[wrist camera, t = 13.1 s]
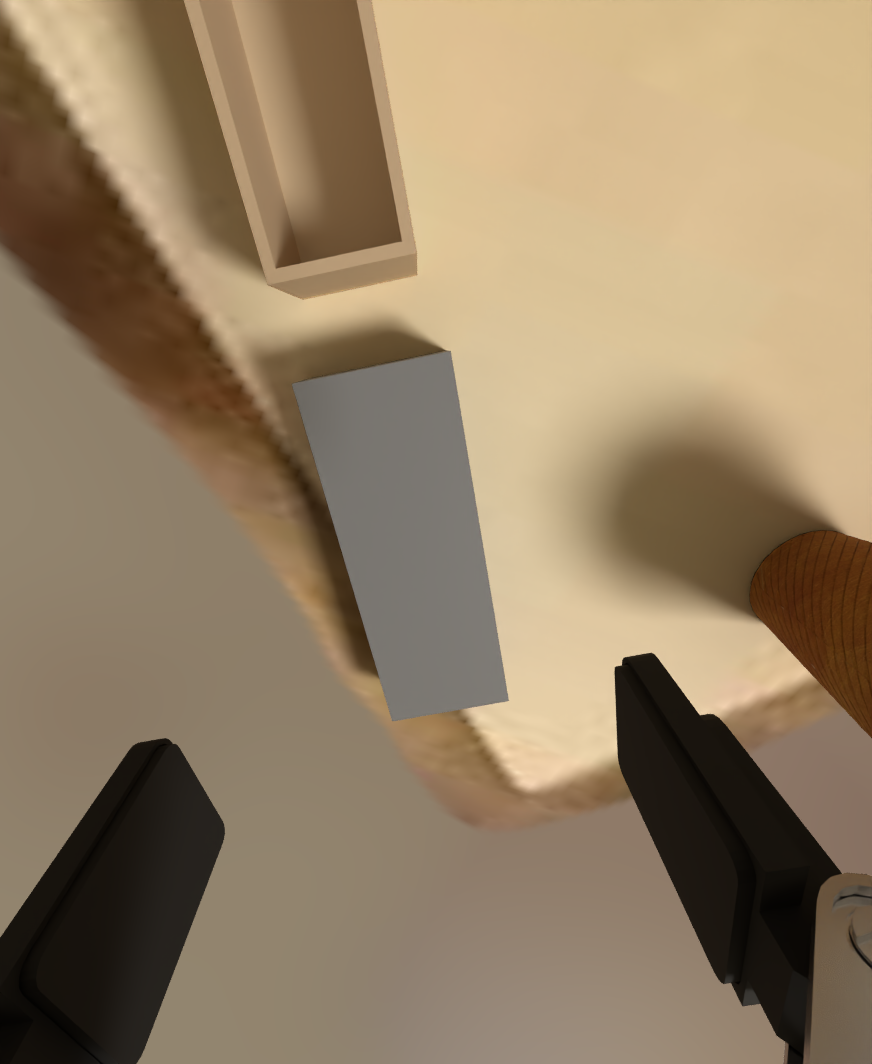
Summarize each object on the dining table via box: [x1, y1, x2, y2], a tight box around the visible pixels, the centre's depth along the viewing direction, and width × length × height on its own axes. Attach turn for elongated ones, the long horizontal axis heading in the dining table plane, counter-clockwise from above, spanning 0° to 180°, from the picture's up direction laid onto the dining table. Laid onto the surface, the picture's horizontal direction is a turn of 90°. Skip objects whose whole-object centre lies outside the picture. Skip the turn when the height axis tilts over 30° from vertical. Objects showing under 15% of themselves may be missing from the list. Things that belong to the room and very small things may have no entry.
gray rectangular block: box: [292, 350, 509, 721], centre depth 23 cm, size 18×6×3 cm, turn 11°
